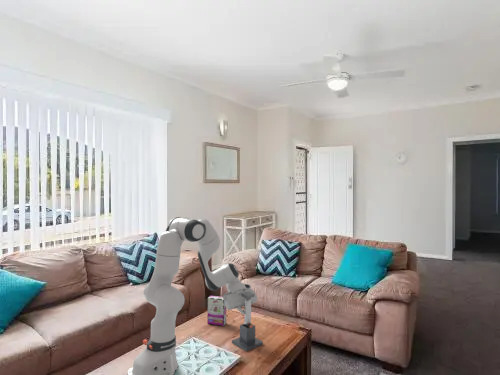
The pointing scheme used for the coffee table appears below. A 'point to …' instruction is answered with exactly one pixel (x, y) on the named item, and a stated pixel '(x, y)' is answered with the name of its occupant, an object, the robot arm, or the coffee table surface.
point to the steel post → (247, 308)
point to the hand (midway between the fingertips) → (247, 312)
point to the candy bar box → (216, 311)
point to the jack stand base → (247, 338)
